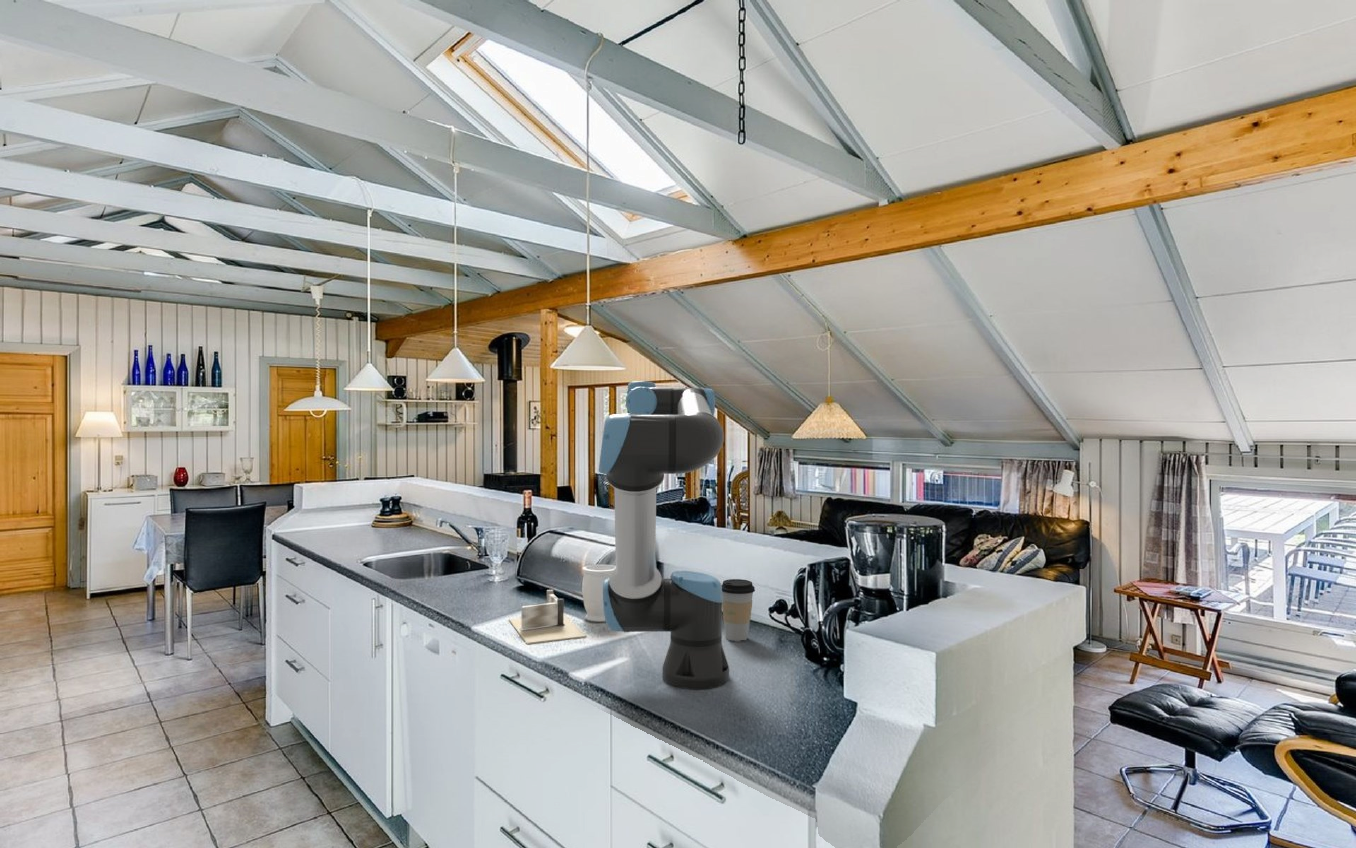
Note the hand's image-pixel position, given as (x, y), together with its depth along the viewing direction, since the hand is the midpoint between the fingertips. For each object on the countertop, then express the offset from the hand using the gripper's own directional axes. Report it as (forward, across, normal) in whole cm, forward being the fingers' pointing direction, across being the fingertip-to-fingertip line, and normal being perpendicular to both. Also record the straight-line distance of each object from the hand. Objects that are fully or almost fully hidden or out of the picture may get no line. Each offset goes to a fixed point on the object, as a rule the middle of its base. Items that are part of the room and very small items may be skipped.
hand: (640, 529), depth 185 cm
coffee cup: (+30, -25, +8) cm, 40 cm away
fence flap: (+29, +21, -20) cm, 40 cm away
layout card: (+29, +20, -20) cm, 41 cm away
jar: (+30, +3, -24) cm, 38 cm away
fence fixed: (+29, +16, -26) cm, 42 cm away
